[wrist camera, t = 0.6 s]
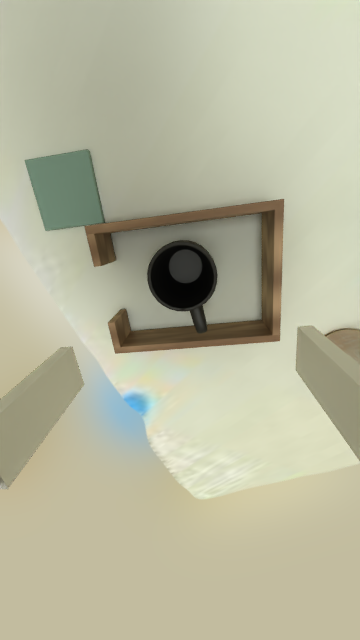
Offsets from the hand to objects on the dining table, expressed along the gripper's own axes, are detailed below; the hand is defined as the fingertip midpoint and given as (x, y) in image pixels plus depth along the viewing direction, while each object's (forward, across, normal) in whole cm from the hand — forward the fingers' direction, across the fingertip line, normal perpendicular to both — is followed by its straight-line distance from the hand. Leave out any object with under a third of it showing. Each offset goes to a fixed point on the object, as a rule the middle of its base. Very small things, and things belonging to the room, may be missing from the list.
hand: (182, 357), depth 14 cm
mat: (+25, -16, +14) cm, 33 cm away
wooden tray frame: (+25, 0, 0) cm, 25 cm away
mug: (+25, 0, 0) cm, 25 cm away
